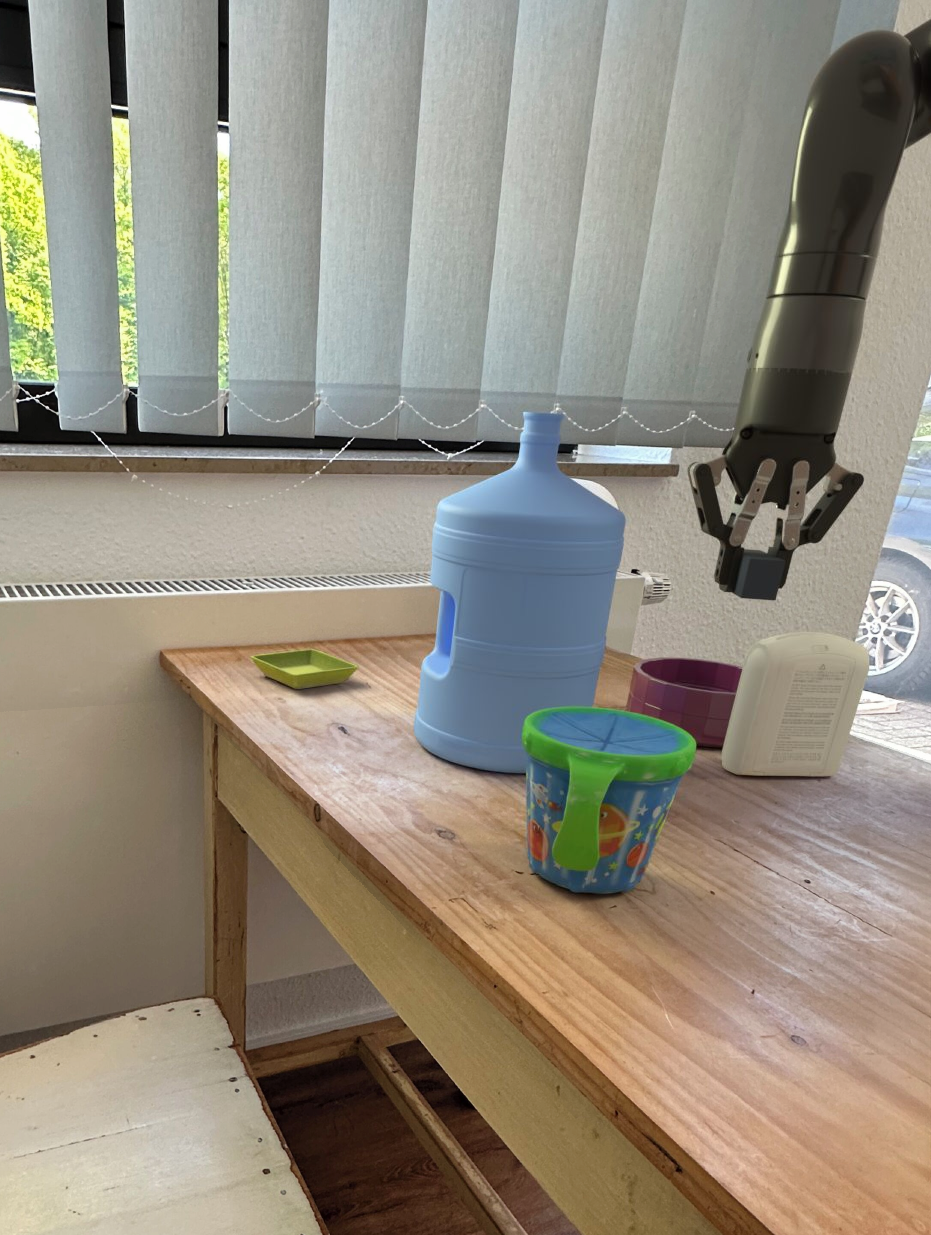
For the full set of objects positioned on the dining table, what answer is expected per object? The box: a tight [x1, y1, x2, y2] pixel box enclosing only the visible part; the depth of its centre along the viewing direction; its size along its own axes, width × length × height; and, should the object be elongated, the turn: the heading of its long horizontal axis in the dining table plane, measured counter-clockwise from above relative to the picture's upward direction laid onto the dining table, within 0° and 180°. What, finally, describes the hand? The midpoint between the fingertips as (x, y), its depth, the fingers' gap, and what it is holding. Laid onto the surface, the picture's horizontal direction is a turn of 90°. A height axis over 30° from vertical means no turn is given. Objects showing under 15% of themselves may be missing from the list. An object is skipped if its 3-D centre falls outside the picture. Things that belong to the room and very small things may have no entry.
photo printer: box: [720, 631, 871, 777], centre depth 82 cm, size 10×4×12 cm, turn 98°
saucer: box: [250, 648, 359, 690], centre depth 104 cm, size 9×9×2 cm
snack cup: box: [522, 706, 697, 895], centre depth 62 cm, size 16×10×10 cm
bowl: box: [625, 657, 743, 749], centre depth 94 cm, size 13×13×6 cm
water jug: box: [413, 411, 627, 774], centre depth 81 cm, size 16×16×28 cm
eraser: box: [732, 548, 785, 601], centre depth 80 cm, size 6×3×3 cm, turn 175°
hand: (747, 591), depth 81 cm, fingers closed on eraser, 2 cm apart
